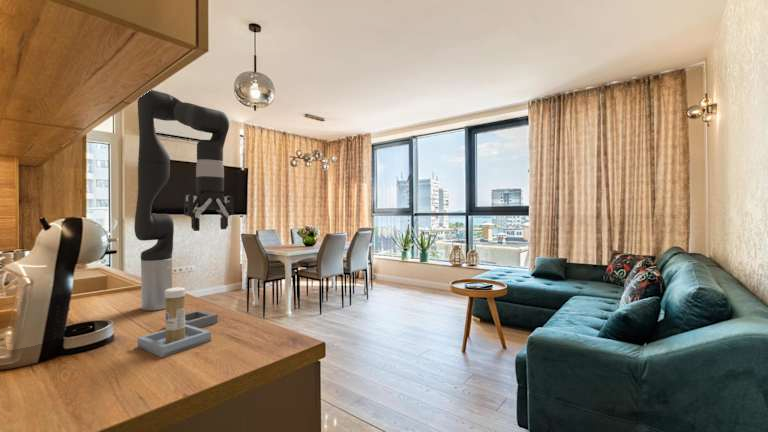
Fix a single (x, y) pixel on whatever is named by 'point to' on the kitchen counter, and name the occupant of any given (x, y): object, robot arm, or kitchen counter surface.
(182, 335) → the sprinkles bottle
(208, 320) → the holder
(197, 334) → the tray
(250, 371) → the kitchen counter surface
